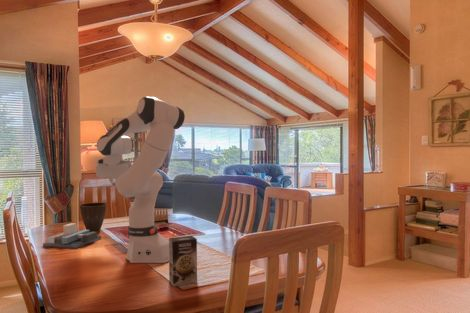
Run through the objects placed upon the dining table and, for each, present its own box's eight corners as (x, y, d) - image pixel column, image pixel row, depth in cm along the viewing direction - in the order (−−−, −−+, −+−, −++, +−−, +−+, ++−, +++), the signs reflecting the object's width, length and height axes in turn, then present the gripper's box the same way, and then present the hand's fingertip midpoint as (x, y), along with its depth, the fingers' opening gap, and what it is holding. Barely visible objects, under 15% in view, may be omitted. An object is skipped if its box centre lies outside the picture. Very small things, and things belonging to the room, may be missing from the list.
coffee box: (173, 287, 127) (172, 241, 126) (169, 281, 133) (168, 237, 132) (198, 282, 130) (197, 238, 130) (192, 277, 136) (192, 234, 136)
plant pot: (97, 227, 228) (97, 201, 227) (112, 229, 219) (111, 203, 218) (75, 231, 215) (74, 205, 215) (89, 234, 207) (89, 207, 206)
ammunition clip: (151, 229, 218) (151, 210, 217) (150, 229, 219) (150, 209, 219) (168, 227, 222) (168, 208, 222) (167, 227, 224) (167, 208, 224)
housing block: (77, 238, 193) (76, 223, 193) (69, 241, 187) (68, 225, 187) (71, 237, 194) (71, 223, 194) (63, 240, 188) (63, 225, 188)
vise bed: (101, 238, 198) (101, 230, 198) (77, 248, 178) (76, 239, 178) (70, 236, 203) (69, 228, 202) (43, 246, 183) (42, 237, 183)
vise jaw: (102, 235, 196) (102, 229, 196) (81, 244, 179) (81, 237, 179) (84, 234, 199) (84, 228, 199) (61, 243, 182) (61, 236, 181)
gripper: (134, 160, 195) (134, 185, 195) (101, 160, 200) (101, 185, 200) (128, 160, 189) (128, 186, 189) (94, 160, 194) (94, 186, 194)
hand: (114, 185), depth 195 cm, fingers closed
